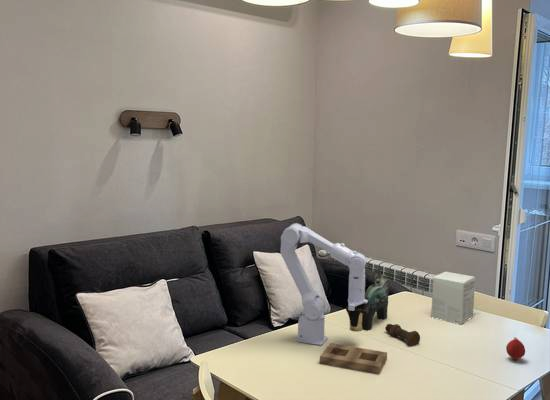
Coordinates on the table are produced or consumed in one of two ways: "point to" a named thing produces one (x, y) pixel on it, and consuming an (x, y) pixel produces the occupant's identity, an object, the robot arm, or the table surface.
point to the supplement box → (453, 297)
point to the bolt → (403, 334)
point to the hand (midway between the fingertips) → (355, 324)
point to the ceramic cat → (376, 302)
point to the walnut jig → (354, 358)
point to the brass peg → (359, 326)
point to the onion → (515, 349)
